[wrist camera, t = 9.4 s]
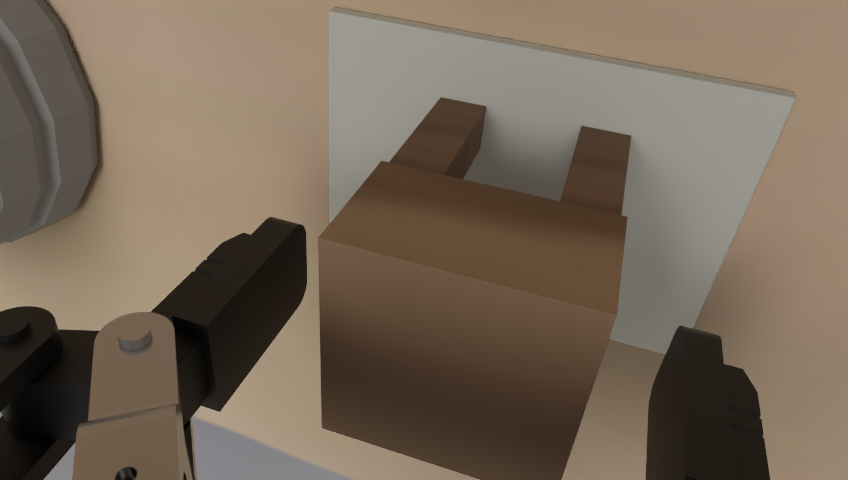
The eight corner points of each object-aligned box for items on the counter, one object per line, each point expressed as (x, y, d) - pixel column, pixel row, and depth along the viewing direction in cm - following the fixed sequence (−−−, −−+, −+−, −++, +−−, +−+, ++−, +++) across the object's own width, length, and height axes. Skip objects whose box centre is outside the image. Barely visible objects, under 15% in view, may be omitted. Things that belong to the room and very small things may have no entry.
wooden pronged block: (437, 92, 16) (318, 237, 11) (636, 132, 15) (617, 315, 10) (422, 249, 19) (321, 427, 14) (589, 292, 18) (553, 502, 13)
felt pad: (335, 7, 16) (328, 11, 16) (793, 91, 14) (796, 98, 14) (334, 256, 21) (329, 262, 21) (679, 349, 19) (679, 358, 19)
